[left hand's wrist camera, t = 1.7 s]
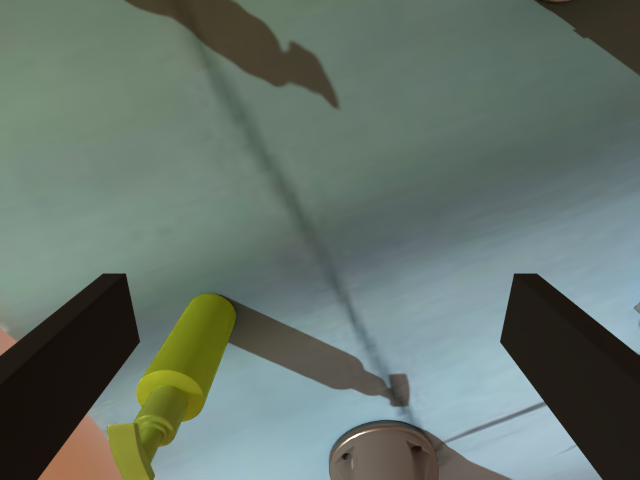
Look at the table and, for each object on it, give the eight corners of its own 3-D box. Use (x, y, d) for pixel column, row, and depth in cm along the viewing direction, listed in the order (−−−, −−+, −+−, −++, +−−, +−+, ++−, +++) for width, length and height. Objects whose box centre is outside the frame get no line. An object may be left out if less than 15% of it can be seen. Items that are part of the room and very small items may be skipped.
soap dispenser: (230, 283, 43) (160, 428, 24) (239, 333, 45) (183, 499, 27) (180, 287, 43) (72, 433, 24) (192, 336, 45) (103, 503, 27)
